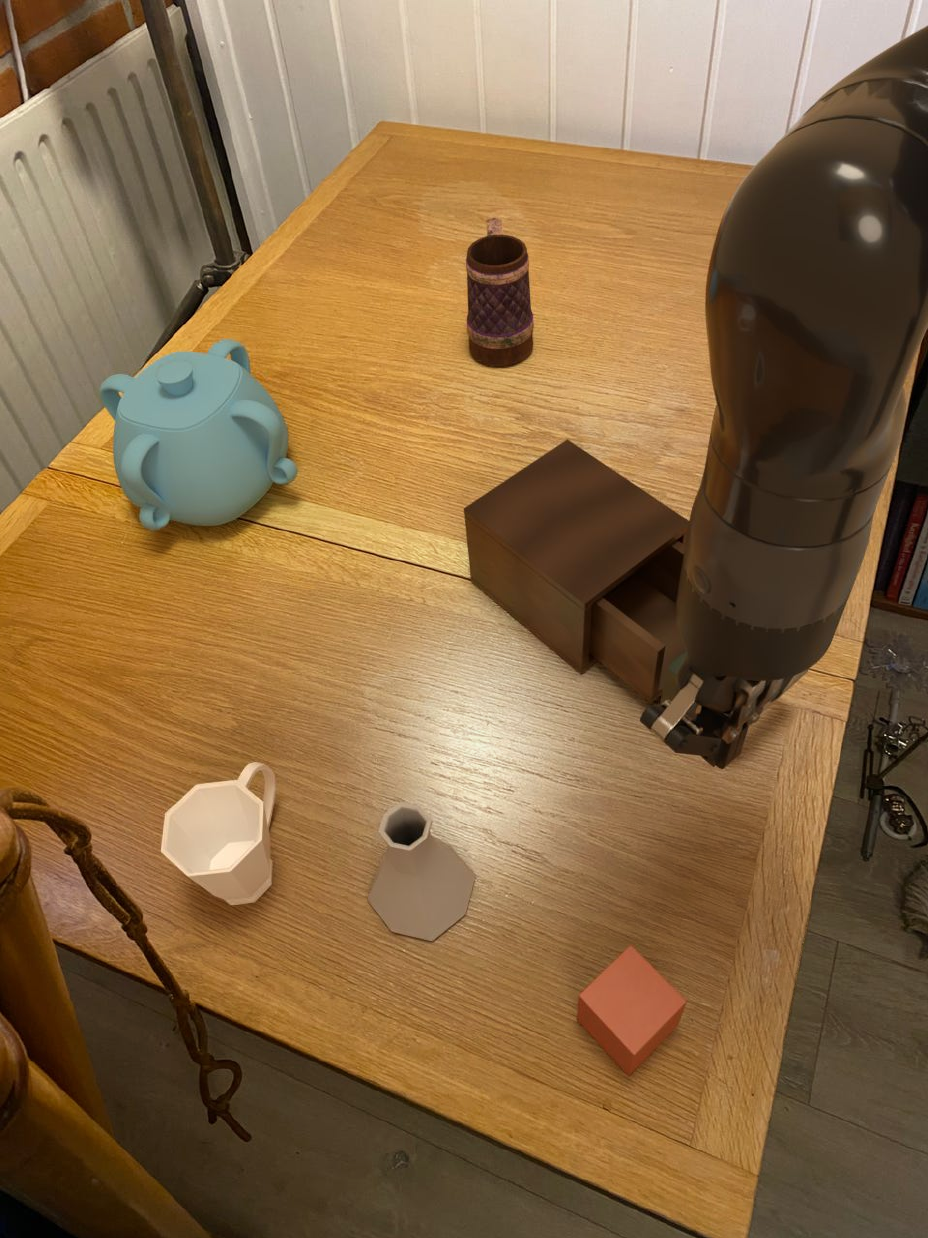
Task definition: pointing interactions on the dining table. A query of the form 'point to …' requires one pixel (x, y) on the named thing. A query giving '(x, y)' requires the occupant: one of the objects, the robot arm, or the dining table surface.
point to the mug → (499, 298)
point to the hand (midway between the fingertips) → (717, 752)
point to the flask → (418, 876)
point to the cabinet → (564, 544)
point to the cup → (224, 836)
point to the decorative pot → (196, 437)
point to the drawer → (645, 628)
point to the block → (629, 1009)
